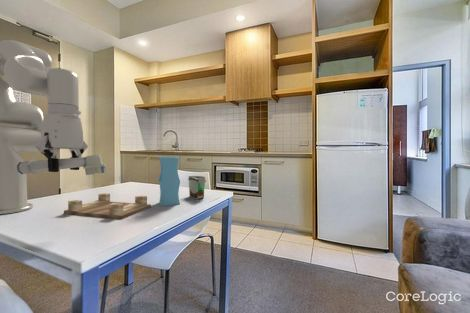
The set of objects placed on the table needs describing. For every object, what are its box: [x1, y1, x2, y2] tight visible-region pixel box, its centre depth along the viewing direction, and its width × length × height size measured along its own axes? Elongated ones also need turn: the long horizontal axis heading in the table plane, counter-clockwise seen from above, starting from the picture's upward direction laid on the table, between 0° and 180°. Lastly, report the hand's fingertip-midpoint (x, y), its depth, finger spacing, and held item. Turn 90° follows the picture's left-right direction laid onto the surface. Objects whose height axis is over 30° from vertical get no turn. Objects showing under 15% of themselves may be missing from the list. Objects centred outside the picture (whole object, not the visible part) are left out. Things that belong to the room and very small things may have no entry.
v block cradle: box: [63, 192, 152, 220], centre depth 85 cm, size 25×16×4 cm, turn 76°
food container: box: [188, 175, 207, 201], centre depth 108 cm, size 12×6×10 cm, turn 34°
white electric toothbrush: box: [17, 154, 107, 176], centre depth 68 cm, size 5×7×25 cm
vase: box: [158, 156, 181, 207], centre depth 96 cm, size 8×8×20 cm
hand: (64, 170), depth 68 cm, fingers closed on white electric toothbrush, 5 cm apart
